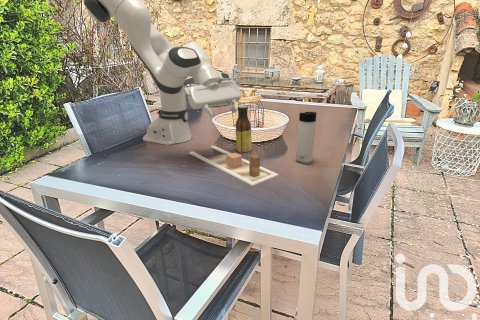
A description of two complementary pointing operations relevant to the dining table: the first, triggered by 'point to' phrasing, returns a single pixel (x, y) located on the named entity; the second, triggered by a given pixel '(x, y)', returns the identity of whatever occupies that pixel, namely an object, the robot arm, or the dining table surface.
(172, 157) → the dining table surface
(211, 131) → the dining table surface
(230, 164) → the terracotta block
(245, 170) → the pale strip
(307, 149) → the travel mug
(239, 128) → the sauce bottle
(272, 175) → the guide rails
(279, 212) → the dining table surface
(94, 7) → the robot arm
